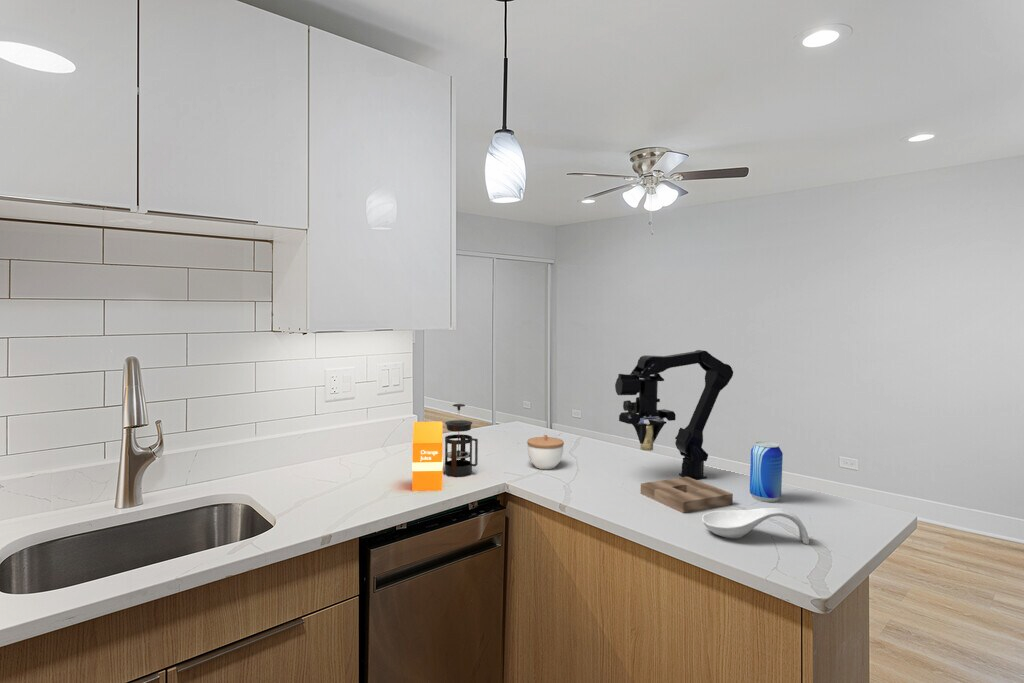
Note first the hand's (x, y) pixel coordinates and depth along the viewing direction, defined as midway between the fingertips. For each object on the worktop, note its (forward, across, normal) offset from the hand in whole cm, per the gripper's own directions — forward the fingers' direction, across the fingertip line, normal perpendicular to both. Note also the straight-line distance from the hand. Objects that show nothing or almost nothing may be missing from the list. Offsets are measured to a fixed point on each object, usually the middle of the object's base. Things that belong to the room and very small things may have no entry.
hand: (646, 443), depth 180 cm
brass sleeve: (+2, 0, 0) cm, 2 cm away
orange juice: (+12, +67, -20) cm, 71 cm away
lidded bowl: (+12, +23, -26) cm, 37 cm away
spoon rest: (+12, +6, +48) cm, 50 cm away
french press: (+12, +53, -30) cm, 62 cm away
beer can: (+12, -20, +29) cm, 37 cm away
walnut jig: (+12, +2, +20) cm, 23 cm away
